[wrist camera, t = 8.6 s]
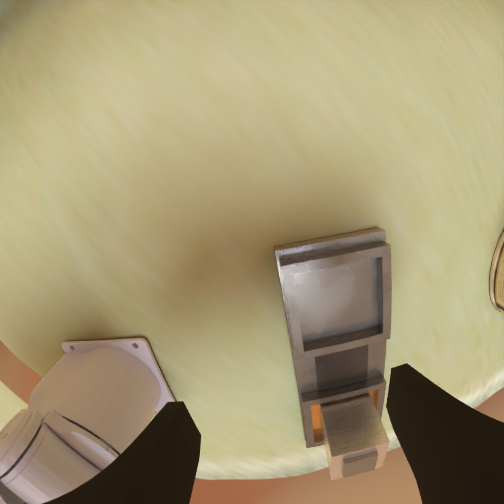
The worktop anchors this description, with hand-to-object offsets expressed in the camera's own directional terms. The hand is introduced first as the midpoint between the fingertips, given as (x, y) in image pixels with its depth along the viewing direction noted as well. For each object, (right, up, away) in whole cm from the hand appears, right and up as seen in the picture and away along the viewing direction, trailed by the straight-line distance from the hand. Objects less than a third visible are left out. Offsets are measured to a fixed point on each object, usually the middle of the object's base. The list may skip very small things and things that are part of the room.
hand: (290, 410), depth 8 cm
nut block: (+6, -8, +12) cm, 15 cm away
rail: (+5, -3, +12) cm, 13 cm away
